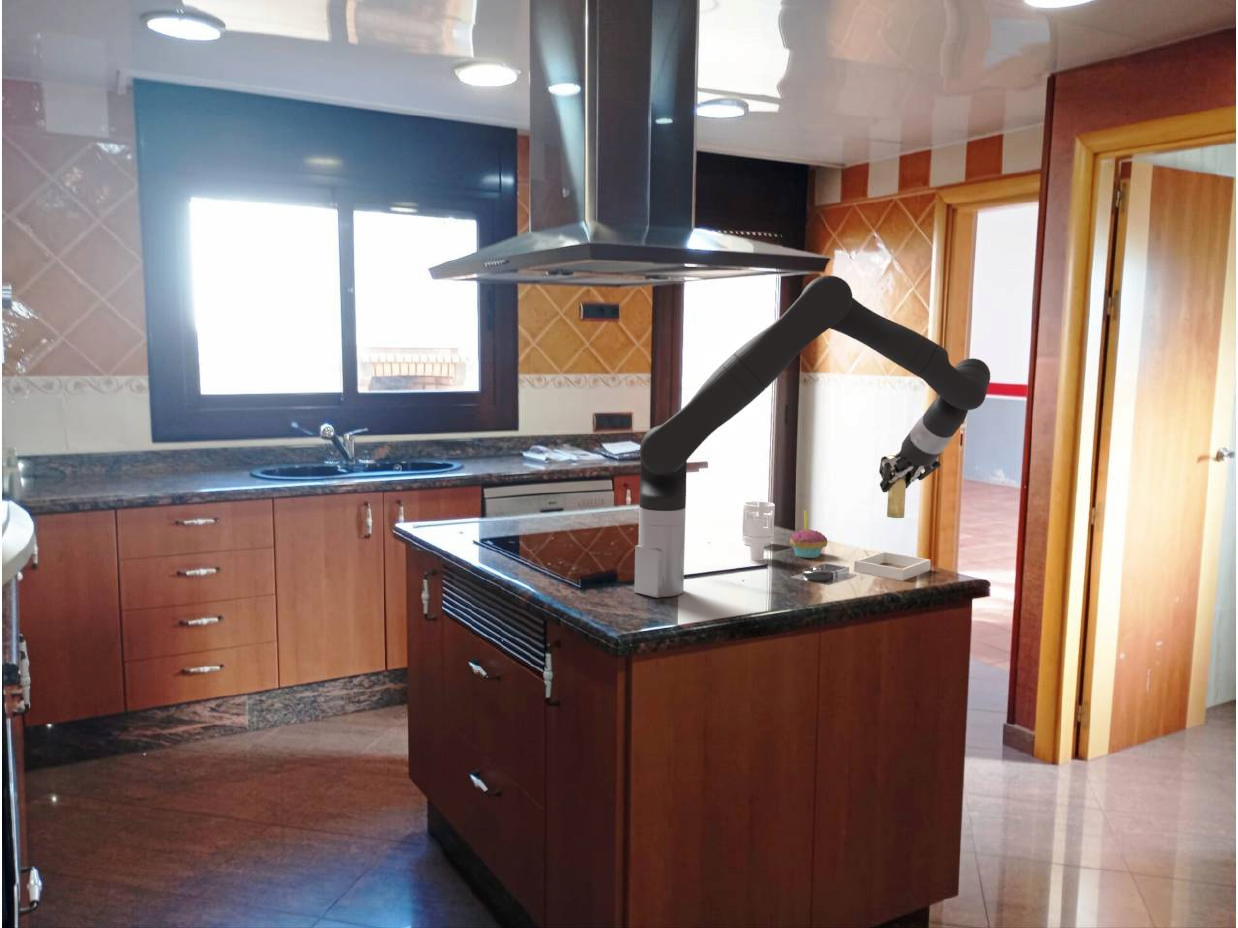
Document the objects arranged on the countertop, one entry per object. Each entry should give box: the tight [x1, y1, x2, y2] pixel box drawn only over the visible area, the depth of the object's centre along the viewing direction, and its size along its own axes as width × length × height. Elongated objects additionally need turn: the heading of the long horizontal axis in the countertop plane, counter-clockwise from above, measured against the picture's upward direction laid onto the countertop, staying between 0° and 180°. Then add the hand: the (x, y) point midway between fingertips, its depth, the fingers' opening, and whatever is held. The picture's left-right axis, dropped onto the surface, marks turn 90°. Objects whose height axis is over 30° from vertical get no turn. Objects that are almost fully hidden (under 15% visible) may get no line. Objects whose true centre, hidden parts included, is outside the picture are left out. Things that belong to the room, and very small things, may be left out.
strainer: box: [741, 499, 776, 562], centre depth 221 cm, size 7×7×15 cm
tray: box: [853, 551, 932, 582], centre depth 213 cm, size 13×11×4 cm
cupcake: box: [789, 507, 828, 559], centre depth 226 cm, size 9×8×12 cm
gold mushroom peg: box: [886, 454, 907, 519], centre depth 211 cm, size 5×5×13 cm
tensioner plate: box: [790, 562, 857, 586], centre depth 207 cm, size 12×9×3 cm
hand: (891, 488), depth 213 cm, fingers closed on gold mushroom peg, 3 cm apart
